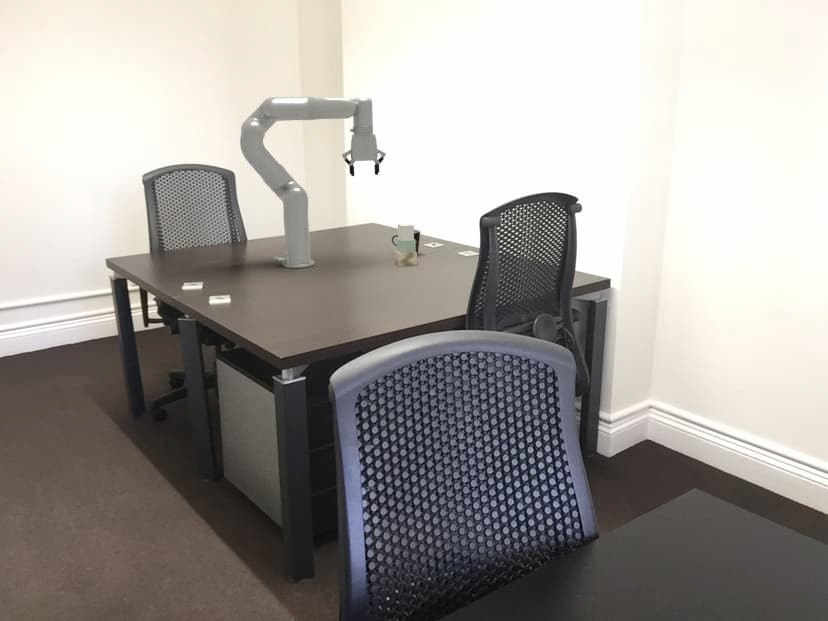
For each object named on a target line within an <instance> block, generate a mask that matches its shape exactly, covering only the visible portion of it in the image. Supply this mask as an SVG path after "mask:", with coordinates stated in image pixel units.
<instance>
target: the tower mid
mask: <svg viewBox="0 0 828 621" xmlns="http://www.w3.org/2000/svg"><path fill="white" fill-rule="evenodd" d="M396 245H397V246H396V251H398V252H399V253H401V254H403V253H416V244H415V240H411V241H401V240H399V239H398V237H396Z"/></svg>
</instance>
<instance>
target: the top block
mask: <svg viewBox="0 0 828 621" xmlns="http://www.w3.org/2000/svg"><path fill="white" fill-rule="evenodd" d="M414 230H415V225H414V224H412V223H410V222H407V223H397V235H398V237H397V238H398V239H399V240H401V241H411V240H414Z"/></svg>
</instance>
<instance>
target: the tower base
mask: <svg viewBox="0 0 828 621" xmlns="http://www.w3.org/2000/svg"><path fill="white" fill-rule="evenodd" d="M394 251H395V252H394V254H395V256H394V259H395V260H394V262H395V264H397V265H398V266H399V267H408V266H417V265H418V255H417V253H403V254H401V253H399V252H398V251H397V250H394Z"/></svg>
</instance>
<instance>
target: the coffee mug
mask: <svg viewBox="0 0 828 621" xmlns="http://www.w3.org/2000/svg"><path fill="white" fill-rule="evenodd" d="M395 238H398V234H396V235H393V236H392V237H391V242H392V243H393V245H394V246H396V247H397V243H395V242H394V239H395ZM420 238H421V230H418V229H414V240H415V244H416V253H417V256H418V255H419V246H420Z"/></svg>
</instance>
